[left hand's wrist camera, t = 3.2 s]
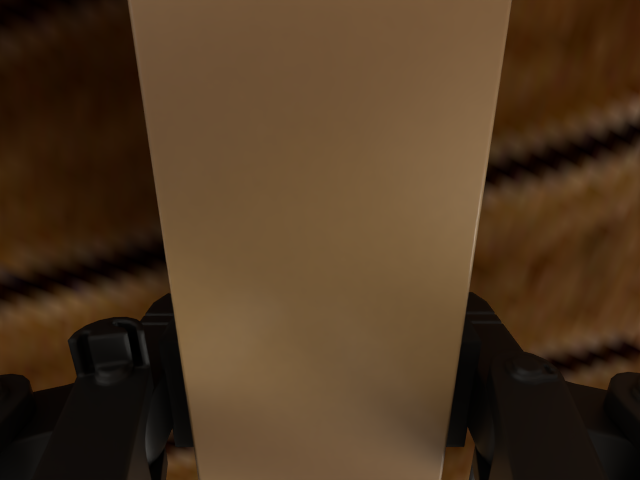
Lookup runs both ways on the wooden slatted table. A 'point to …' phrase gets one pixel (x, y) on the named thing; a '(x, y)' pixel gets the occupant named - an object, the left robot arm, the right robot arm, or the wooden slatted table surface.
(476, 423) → the left robot arm
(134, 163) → the wooden slatted table surface
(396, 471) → the bar
